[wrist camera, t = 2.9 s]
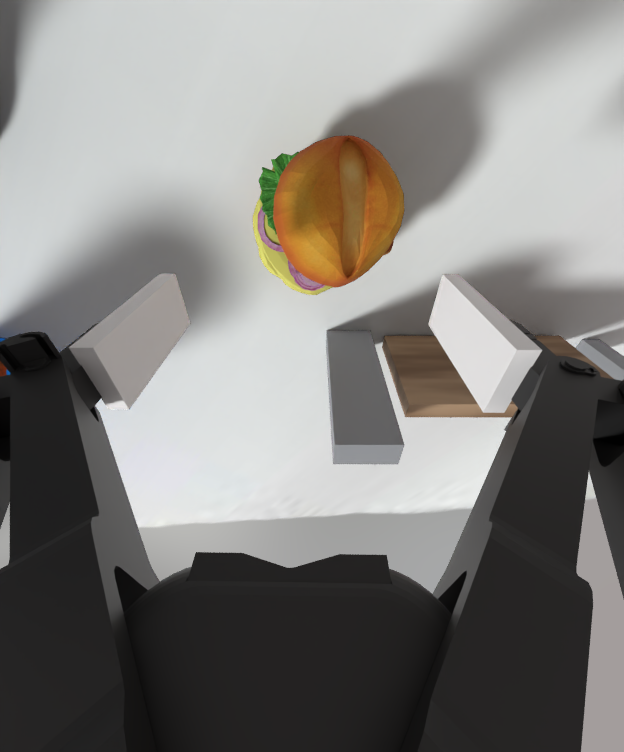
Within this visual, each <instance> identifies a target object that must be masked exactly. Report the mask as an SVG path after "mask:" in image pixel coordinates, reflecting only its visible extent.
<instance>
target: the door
mask: <svg viewBox="0 0 624 752" xmlns="http://www.w3.org/2000/svg"><path fill="white" fill-rule="evenodd" d="M534 337H536V338H537V340H539V341H540V342H541V343H542V344H544V345H545V346H546V347H547V348H548V349H549V350H550V351H552V352H553V353H554V354H555V355H556V356H568V357H572V358H577V359H579V360H582V361H584V362H587V363H588V364H590V365H592V366H593V367H595V368H596V369H597V370H598V371H599V372H600V375H601V377H605V378H610V379H614V378H612V377H611V376H610V375H609V374H607V373H606V372H605V371H603V370H602V369H601V368H600V367H598V366H597V365H596V364H595V363H593V362H592V361H591V360H590V359H588V358H587V357H586V356H585V355H583V354H582V353H581V352H579V351H578V350H577V349H576V348H574V347H573V346H572V345H571V344H569V343H568V342H567V341H566V340H564V339H563V338H562V337H560V336H534ZM382 348H383V351H384V354H385V357H386V360H387V363H388V366H389V369H390V372H391V375H392V378H393V381H394V384H395V387H396V390H397V393H398V396H399V399H400V402H401V405H402V408H403V411H404V414H405V417H513V415H514V414H515V412H516V411H517V409H518V407H517V406H516V405H515V404H514V402H513V401H511V402H510V404H509V406H508V407H507V409H506V411H505V412H504V413H483V411H482V410H481V408H480V407H479V405H478V403H477V402H476V400H475V399H474V397H473V395H472V394H471V392H470V391H469V389H468V387H467V386H466V384H465V383H464V381H463V379H462V378H461V376H460V375H459V373H458V371H457V370H456V368H455V367H454V365H453V363H452V362H451V360H450V358H449V357H448V355H447V354H446V352H445V350H444V349H443V347H442V346H441V344H440V342H439V341H438V339H437V338H436V336H384V341H383V346H382Z"/></svg>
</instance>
